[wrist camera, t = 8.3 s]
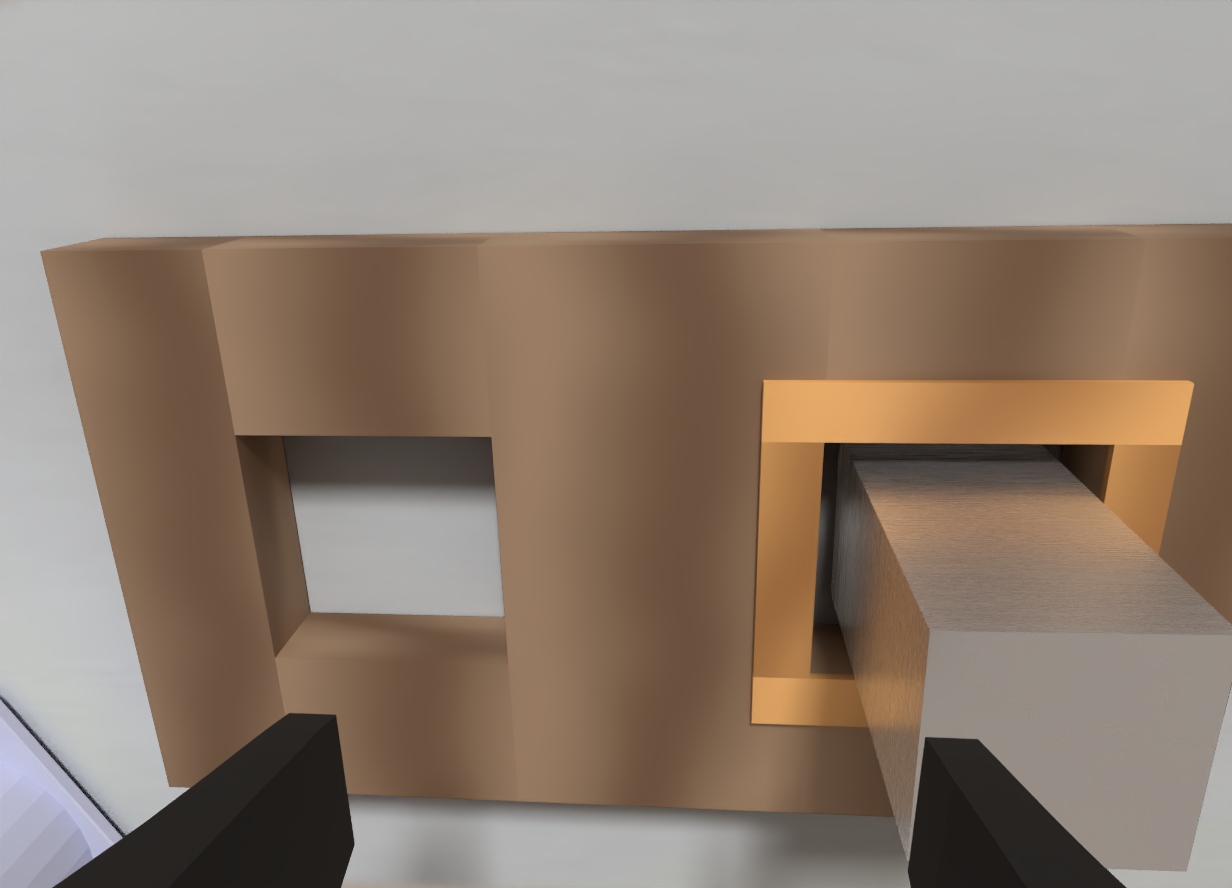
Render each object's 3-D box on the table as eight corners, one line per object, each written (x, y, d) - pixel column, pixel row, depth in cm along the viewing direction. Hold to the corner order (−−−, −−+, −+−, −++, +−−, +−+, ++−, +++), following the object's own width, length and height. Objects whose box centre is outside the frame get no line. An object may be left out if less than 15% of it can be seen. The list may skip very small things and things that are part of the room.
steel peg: (830, 594, 21) (907, 861, 13) (840, 433, 20) (930, 630, 12) (1007, 596, 21) (1186, 871, 13) (1029, 432, 19) (1242, 635, 12)
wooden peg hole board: (210, 734, 24) (164, 792, 22) (103, 238, 19) (33, 253, 17) (1151, 768, 22) (1199, 836, 20) (1275, 223, 17) (1353, 237, 15)
